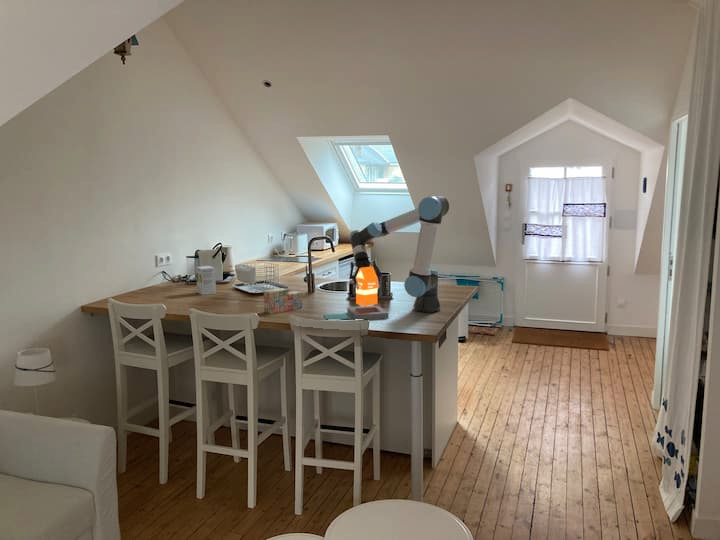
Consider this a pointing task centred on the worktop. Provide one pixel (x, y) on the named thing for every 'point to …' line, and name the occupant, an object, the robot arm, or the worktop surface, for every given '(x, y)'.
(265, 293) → the patterned cardboard box
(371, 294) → the orange juice
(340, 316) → the mat
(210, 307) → the worktop surface
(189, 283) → the worktop surface
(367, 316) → the puzzle board
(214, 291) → the supplement box
